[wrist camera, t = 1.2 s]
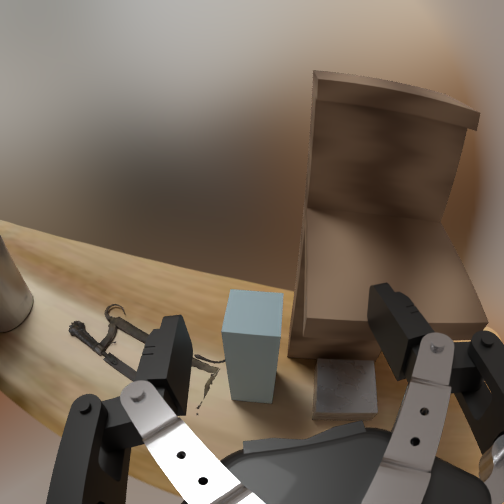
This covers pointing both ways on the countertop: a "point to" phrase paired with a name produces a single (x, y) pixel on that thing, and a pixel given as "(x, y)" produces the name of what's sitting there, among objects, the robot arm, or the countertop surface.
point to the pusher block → (252, 343)
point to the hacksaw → (80, 332)
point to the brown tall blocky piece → (378, 214)
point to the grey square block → (344, 390)
